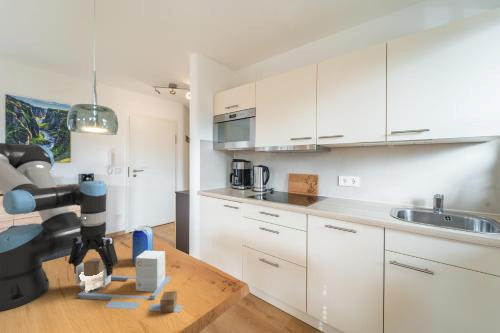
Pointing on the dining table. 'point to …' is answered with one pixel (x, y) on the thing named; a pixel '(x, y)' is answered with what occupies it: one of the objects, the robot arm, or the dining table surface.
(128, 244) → the dining table surface
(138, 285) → the small box
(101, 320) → the dining table surface
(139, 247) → the beer can
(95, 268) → the frame
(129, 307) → the broken strip
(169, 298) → the walnut cube
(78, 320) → the dining table surface
